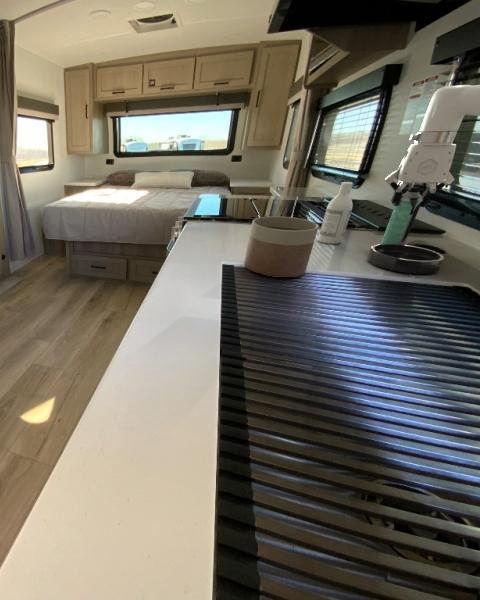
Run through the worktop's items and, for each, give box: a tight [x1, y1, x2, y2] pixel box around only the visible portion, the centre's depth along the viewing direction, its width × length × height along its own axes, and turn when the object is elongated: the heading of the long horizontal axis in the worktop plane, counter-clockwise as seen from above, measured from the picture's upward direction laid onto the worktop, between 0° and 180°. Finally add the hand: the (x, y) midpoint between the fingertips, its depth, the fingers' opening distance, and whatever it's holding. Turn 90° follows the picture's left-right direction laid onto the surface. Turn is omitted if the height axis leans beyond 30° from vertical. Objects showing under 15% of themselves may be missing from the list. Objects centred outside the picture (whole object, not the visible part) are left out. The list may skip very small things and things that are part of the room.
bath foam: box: [317, 181, 354, 245], centre depth 113 cm, size 7×7×20 cm
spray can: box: [380, 186, 424, 245], centre depth 101 cm, size 6×6×20 cm
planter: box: [243, 215, 319, 278], centre depth 94 cm, size 16×16×14 cm
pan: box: [366, 243, 445, 275], centre depth 96 cm, size 15×15×4 cm
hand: (407, 205), depth 99 cm, fingers closed on spray can, 5 cm apart
